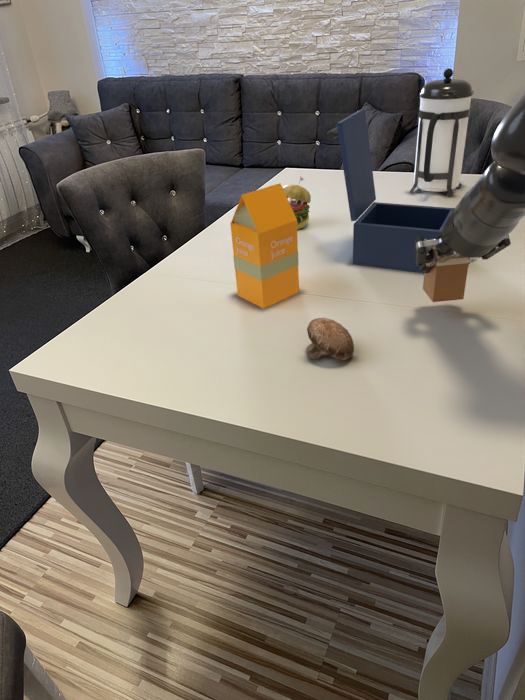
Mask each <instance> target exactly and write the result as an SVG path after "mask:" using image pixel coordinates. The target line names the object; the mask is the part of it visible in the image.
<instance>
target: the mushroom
mask: <svg viewBox="0 0 525 700" xmlns="http://www.w3.org/2000/svg"><path fill="white" fill-rule="evenodd" d="M306 332H307V336H308V339H309V341H310V342H311V343H310V344H309V345H307V347H306V354H307V355H308V357H309V359H311V360H312V361H314V360H317V359H321V358H323V357H326V356H330V357H332V358H334V359H336V360H340V361H346V360H348V359H350V358H351V357H352V356H353V355H354V351H355V345H354V340H353V337H352V335H351V334H350V332H349V330H348V329H347V328H346V327H344V326H343V325H342V324H341V323H340V322H337V321H335V320H334V319H330V318H328V317H327V318H326V317H317V318H314V319H312V320H311V321H310V322H309V323H308V324H307V327H306Z"/></svg>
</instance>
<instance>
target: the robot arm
mask: <svg viewBox="0 0 525 700" xmlns="http://www.w3.org/2000/svg"><path fill="white" fill-rule="evenodd" d="M490 151H491V157H492V159H493V162H492V163H491V164H490V165H488V167H487V168H486V169H485V170H484V172H483V173H482V174H481V176H480V177H479V179H478V180H477V181H476V182H475V184H474V185H473V186H472V187H471V188H470V189H469V190H468V191H467V192H466V193H465V194H464V196H463V197H461V199H460V201H459V202H458V203H457V205H456V206H455V207H454V208H455V209H454V210H453V212H452V213H451V214H450V216H449V217H448V219H447V220H446V223H445V225H444V229H443V232H441V233H440V234H438V235H436V237H435V239H432V240H427V239H424V237H423V236H419V237H417V238H416V239H415V245H414V254H415V259H416V266H420V270H421V271H423V273H422V274H423V275H424V273H429V271H430V270H431V269H432V268H433V267H434V265H435V264H437V263H444V262H446V261H447V260H449V259H451V258H453V257H457V256H459V255H462V256H466V257H469V260H470V261H469V264H468V266H469V265H471V263H475V262H477V261H478V259H479V258H481V260H483V261H485V260H488V259H490V258H492V257H494V256H495V255H496V254H499V253H500V252H501V251H503V250H505V249H506V248H507V247H509V246H511V245H512V244H511V238H510V233H511V232H512V231H513V230H514V229H515V228H516V227H517V225H518V224H519V223H520V221H521V220H522V219H523V218H524V217H525V92H524V93H523V94H522V95H521V96H520V97H519V99H518V100H517V101H516V102H515V103H514V105H512V107H511V108H510V110H509V111H508V112H507V113H506V114H505V116H504V117H503V118H502V120H501V121H500V122H499V123H498V125H497V127H496V129H495V131H494V133H493V136H492V138H491V144H490ZM433 252H434V256H433Z"/></svg>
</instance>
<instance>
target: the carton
mask: <svg viewBox="0 0 525 700" xmlns="http://www.w3.org/2000/svg"><path fill="white" fill-rule="evenodd" d="M433 256H434V252H433ZM469 261H470V260H469V257H466V256H462V255H459V256H457V257H453V258H451V259H449V260H447V261H446V262H444V263H437V264H435V265H434V267H433V268H432V269H431V270H430V271H429V273H424V274H423V283H422V290H423V292H425V294H426V295H427V296H428V298H429V300H431V302H432V303H439V302H452V301H459V300H460V301H461V300H464V298H465V292H466V291H465V290H466V285H467V277H468V270H469V265H470V264H469ZM468 264H469V265H468Z"/></svg>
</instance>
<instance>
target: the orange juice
mask: <svg viewBox="0 0 525 700" xmlns="http://www.w3.org/2000/svg"><path fill="white" fill-rule="evenodd" d="M282 187H283V185H282V184H281V183H280V182H279V183H276V184H272V185H270V186H266V187H263V188H260V189H257V190H253V191H251V192H246V193H243V194H241V195H240V199H239V201H238V204H237V206H236V208H235V211H234V214H233V216H232V219H231V222H230V223H229V224H230V233H231V240H232V241H231V243H232V254H233V255H232V256H233V266H234V270H235V271H234V273H235V282H236V292H237V296H238V297H240V298H242V299H243V300H245V301H247V302H250V303H252V304H254V305H255V306H257V307H259V308H261V309H266V308H268V307H270V306H272V305H275V304H276V303H279V302H281V301H283V300H285V299H287V298H290V297H292V296H294V295H296V294H298V293H300V280H299V279H300V277H299V274H300V273H299V264H300V263H299V245H298V244H299V243H298V230H297V219H296V217H295V214H294V212H293V210H292V208H291V206H290V203H289V201H290V200H289V198H288V199H287V197H286V195H285V192H284V190H283V188H282Z"/></svg>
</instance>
